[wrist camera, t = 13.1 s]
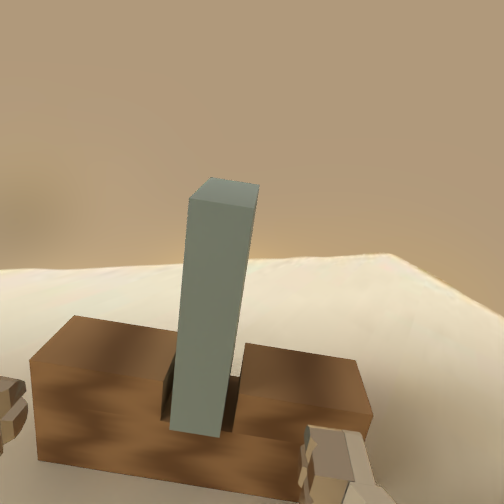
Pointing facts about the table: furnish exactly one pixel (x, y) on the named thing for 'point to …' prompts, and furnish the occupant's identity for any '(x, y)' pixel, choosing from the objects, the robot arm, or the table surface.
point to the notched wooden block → (159, 409)
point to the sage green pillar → (211, 302)
